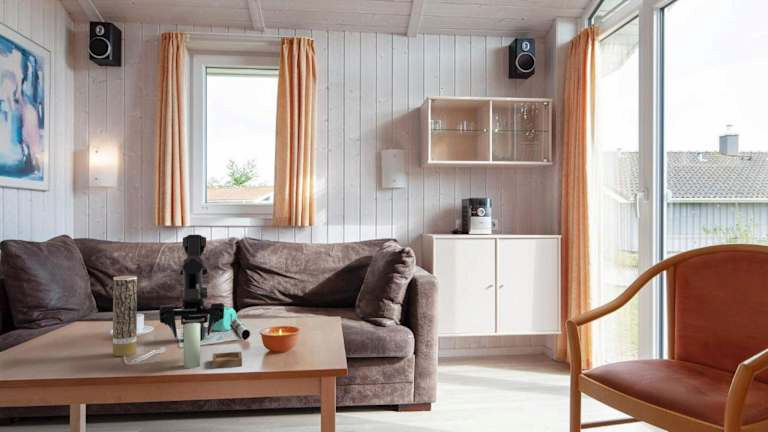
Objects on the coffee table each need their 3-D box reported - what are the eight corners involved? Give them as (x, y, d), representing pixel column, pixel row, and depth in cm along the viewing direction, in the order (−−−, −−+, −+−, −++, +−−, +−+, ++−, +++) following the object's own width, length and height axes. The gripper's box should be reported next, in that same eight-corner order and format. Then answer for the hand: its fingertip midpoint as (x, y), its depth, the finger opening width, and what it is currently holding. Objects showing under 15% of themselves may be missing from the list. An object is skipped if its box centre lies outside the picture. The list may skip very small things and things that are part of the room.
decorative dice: (223, 332, 193) (223, 311, 193) (207, 330, 196) (207, 309, 196) (237, 328, 200) (237, 308, 200) (222, 326, 203) (222, 306, 203)
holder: (212, 368, 146) (212, 360, 146) (213, 360, 154) (213, 353, 155) (241, 366, 149) (242, 358, 149) (241, 358, 157) (241, 351, 157)
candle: (180, 368, 146) (181, 323, 147) (187, 363, 151) (188, 319, 151) (196, 368, 146) (196, 323, 146) (202, 364, 151) (202, 320, 151)
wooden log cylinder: (141, 352, 163) (141, 276, 163) (124, 358, 157) (124, 278, 157) (125, 350, 165) (125, 275, 165) (107, 356, 159) (108, 277, 159)
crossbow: (147, 370, 149) (147, 363, 148) (111, 367, 151) (111, 360, 151) (180, 352, 164) (180, 346, 164) (147, 350, 167) (147, 344, 167)
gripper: (160, 279, 152) (156, 322, 141) (224, 277, 158) (225, 318, 148) (161, 301, 159) (158, 344, 148) (222, 298, 165) (224, 339, 155)
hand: (192, 335), depth 150 cm, fingers open, 9 cm apart
